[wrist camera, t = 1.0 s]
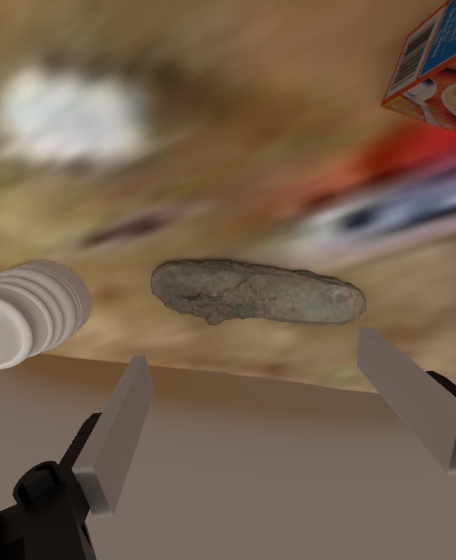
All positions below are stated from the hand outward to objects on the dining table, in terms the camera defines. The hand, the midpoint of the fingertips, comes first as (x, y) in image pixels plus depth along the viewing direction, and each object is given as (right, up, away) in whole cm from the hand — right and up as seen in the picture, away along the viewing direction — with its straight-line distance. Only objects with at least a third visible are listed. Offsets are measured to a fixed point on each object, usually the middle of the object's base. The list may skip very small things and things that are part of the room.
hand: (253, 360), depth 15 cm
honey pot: (-30, +2, +25) cm, 40 cm away
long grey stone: (+4, +3, +27) cm, 27 cm away
